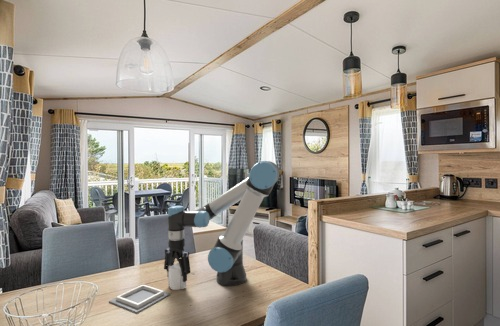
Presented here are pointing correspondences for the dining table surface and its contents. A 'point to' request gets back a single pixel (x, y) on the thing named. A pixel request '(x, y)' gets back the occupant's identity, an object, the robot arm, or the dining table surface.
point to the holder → (139, 298)
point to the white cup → (175, 276)
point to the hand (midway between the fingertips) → (177, 286)
